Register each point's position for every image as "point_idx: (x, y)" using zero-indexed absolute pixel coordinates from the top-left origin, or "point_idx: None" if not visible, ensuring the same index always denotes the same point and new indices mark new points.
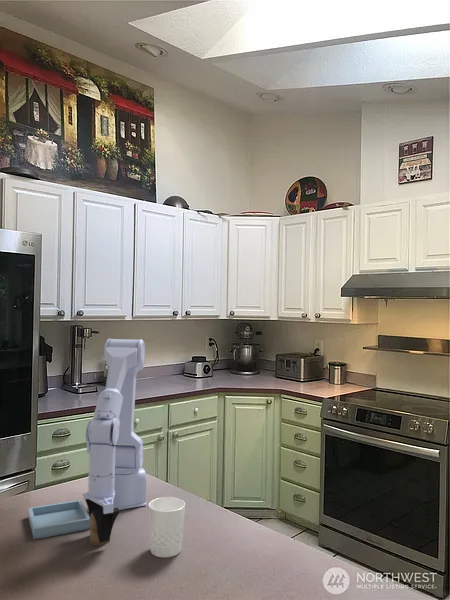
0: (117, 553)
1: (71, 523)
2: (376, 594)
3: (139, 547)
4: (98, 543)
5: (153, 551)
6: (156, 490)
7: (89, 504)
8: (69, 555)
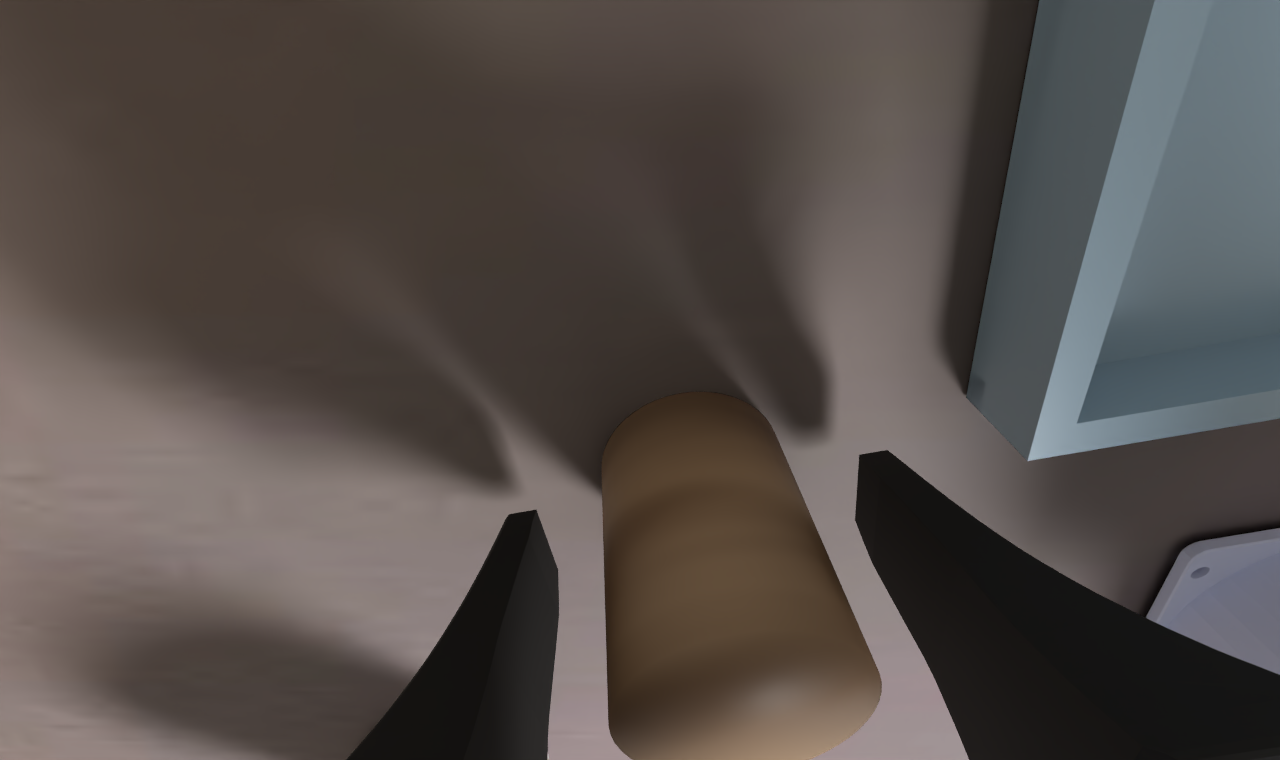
0: (440, 568)
1: (1074, 252)
2: None
3: None
4: (602, 469)
5: None
6: None
7: (1042, 681)
8: (442, 204)
